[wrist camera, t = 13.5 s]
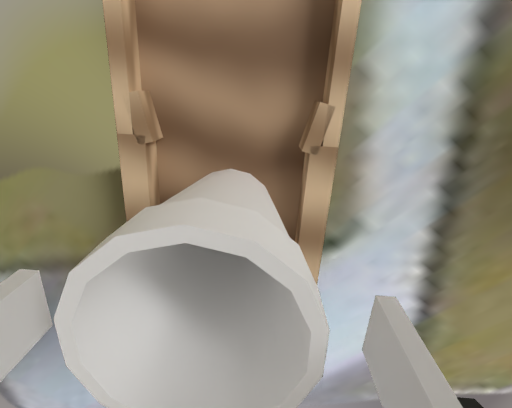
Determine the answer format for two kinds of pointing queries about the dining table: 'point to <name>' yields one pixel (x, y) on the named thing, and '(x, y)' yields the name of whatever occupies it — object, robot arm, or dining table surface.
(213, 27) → the track
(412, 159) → the dining table surface
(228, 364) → the foam cup
